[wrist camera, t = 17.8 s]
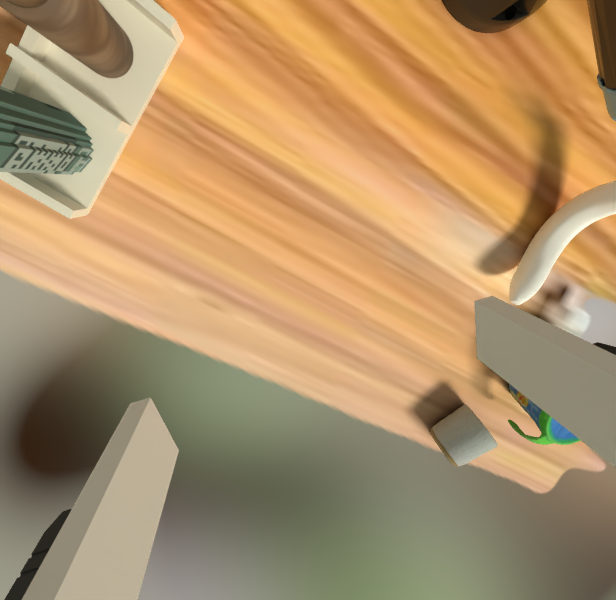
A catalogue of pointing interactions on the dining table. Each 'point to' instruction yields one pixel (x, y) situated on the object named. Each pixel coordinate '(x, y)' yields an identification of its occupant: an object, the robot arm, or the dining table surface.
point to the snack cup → (542, 423)
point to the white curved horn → (559, 238)
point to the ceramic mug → (462, 436)
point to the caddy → (92, 98)
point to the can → (40, 137)
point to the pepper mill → (79, 32)
